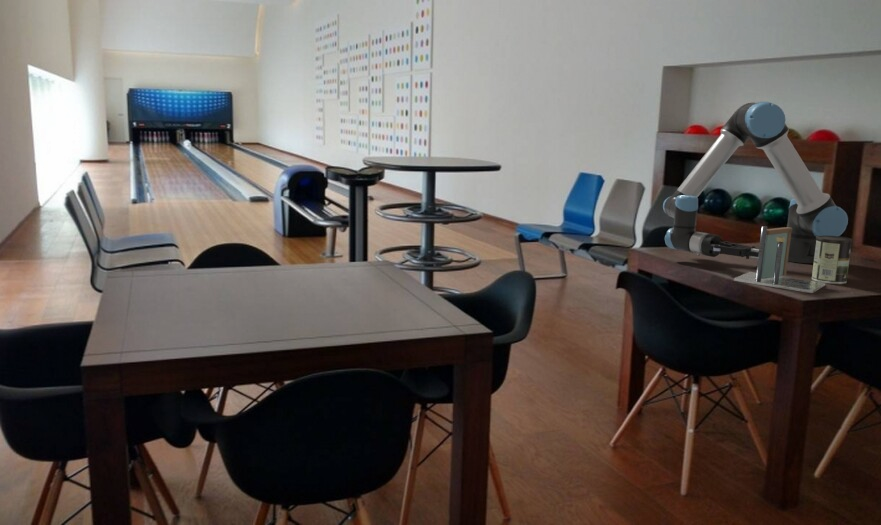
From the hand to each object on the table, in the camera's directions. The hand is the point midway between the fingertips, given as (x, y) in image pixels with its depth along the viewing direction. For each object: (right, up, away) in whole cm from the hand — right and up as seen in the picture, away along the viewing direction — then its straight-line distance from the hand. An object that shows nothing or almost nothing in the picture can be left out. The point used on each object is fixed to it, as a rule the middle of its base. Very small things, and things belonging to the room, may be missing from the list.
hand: (770, 256), depth 234 cm
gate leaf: (+1, -6, 0) cm, 7 cm away
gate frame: (+2, -8, -2) cm, 9 cm away
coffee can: (+21, -8, +4) cm, 23 cm away
